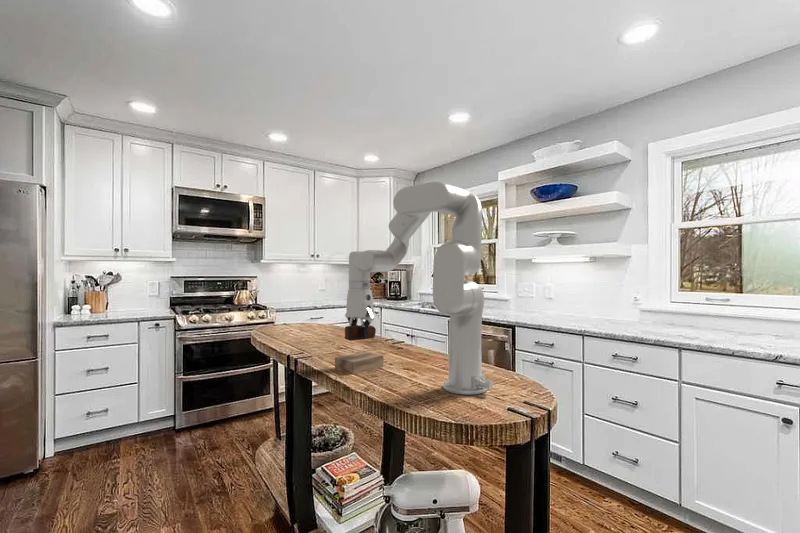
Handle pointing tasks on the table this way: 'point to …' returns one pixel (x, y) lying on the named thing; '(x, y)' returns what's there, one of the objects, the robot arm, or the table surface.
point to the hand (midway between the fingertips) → (359, 336)
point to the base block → (358, 362)
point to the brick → (358, 332)
